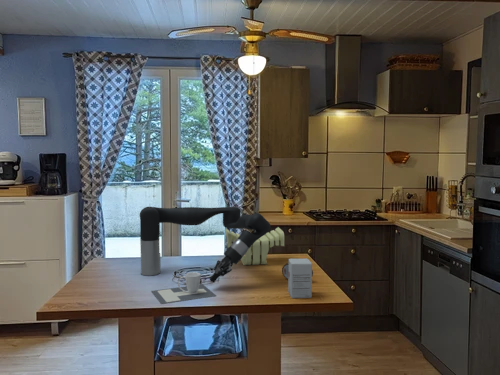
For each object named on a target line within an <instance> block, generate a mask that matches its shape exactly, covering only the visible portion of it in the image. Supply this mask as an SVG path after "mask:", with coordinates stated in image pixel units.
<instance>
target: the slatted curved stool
mask: <svg viewBox="0 0 500 375" xmlns="http://www.w3.org/2000/svg"><path fill="white" fill-rule="evenodd" d="M225 235H226V241H227V249H228V248H229V247H230V246H231V244H232V243H233V242H234V241H235V240H236V239H237V238H238V237H239V236H240V235H241V234H240V233H238V232H236V233H235V232H234V231H232V230H229V228H225ZM274 246H277V247H278V246H281V247H285V233H284V231H283V229H281V228H280V227H279V226H277V227H276V228H275V229H273V230H272V229H271V230H269V232H268V233H266V234H265V235H263V236H262V237H260V238H259V239H258V240H256V241H255V242H254V243H253V244H252V246H251V247H250V248H249V249H248V251H247V252H246V254H245V255H244V256H243V257H242V258H241V260H240V261H241V263H242V264H243V266H251V265H253V266H254V265H255V266H256V265H257V266H258V265H268V263H267V258H268V257H267V256H268V253H269V251H270V248H272V247H274Z"/></svg>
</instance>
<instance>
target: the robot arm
mask: <svg viewBox="0 0 500 375" xmlns="http://www.w3.org/2000/svg"><path fill="white" fill-rule="evenodd" d="M221 214H222V225H223V227H224V228H225V229H232V230H233V229H235V230H239V229H240V230H241V229H243V230H244V229H245V230H244V231H242V232H241V233H240V234H239V235H240V236H239V237H238V238H237V239H236V240H235V241H234V242H233V243H232V244H231V246H230V247H229V248H228V247H227V249H226V251H224V253H223V255H224V257H223V258H222V259H221V260H217V262H216V263H215V265H214V268H213V271H214V272H213V274H212V275H211V276H210V278H209V281H210V282H212V283H215V282H216V281H217V279H218V278H219V277H224V276H225V275H227V274H229V273H230V272H232V270H233V269H231V267H233V265H237V264H239V262H240V261H241V258H242V257H243V256H245V254H246V252H247V251H248V249H249V248H250V247H251V248H252V244H253V243H254V242H255V241H256V240H258V239H259V238H260V237H262V236H263V235H265V234H266V233H268V232H269V233H270V231H271V223H270V222H269V221H268V220H267V219H266V218H265V217H264V216H263V215H262V214H261V213H259V212H256V213H255V212H254V213H253V214H243V215H242V216H241V208H239V207H238V206H237V207H236V206H223V207H197V206H196V207H195V206H190V207H189V206H187V207H186V206H185V207H172V208H171V207H168V208H167V207H156V206H146V207H145V206H144V207H143V208H142V209H141V211H140V212H139V219H140V220H139V221H140V223H139V224H140V229H139V230H140V236H139V238H140V239H139V240H140V243H139V244H140V274H141V275H143V276H148V277H149V276H156V275H159V274H160V273H161V271H162V270H161V268H162V266H161V252H160V251H161V250H160V233H161V231H160V228H161V225H160V224H164V223H167V224H169V223H170V224H175V225H181V226H199V225H202V224H203V223H205V222H206V221H208V220H209V219H211V218H213V217H215V216H216V215H221ZM249 230H250V231H249ZM252 231H255V232H252Z"/></svg>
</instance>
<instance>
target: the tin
mask: <svg viewBox="0 0 500 375" xmlns="http://www.w3.org/2000/svg"><path fill="white" fill-rule="evenodd" d="M288 267H289V261H287V262H285V264H284V265H283V266H282V268H281V272H282V273H281V274H282V276H283V277H284V278H285V279H287V280H288ZM313 276H314V270H313V269H312V277H313Z"/></svg>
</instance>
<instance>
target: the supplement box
mask: <svg viewBox="0 0 500 375" xmlns="http://www.w3.org/2000/svg"><path fill="white" fill-rule="evenodd" d="M288 262H289V267H288V279H287V280H288V281H287V283H288V284H287V286H288V288H287V290H288V295H289V296H290V298H291V299H307V298H308V299H312V295H313V291H312V290H313V276H312V270H313V263H312V262H311V260H309V258H288Z"/></svg>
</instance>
